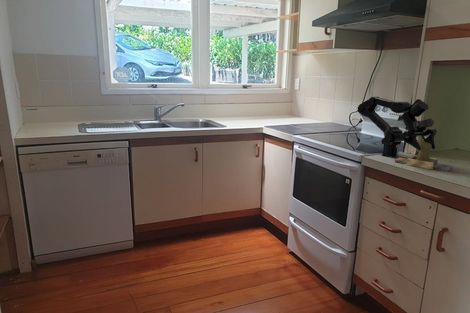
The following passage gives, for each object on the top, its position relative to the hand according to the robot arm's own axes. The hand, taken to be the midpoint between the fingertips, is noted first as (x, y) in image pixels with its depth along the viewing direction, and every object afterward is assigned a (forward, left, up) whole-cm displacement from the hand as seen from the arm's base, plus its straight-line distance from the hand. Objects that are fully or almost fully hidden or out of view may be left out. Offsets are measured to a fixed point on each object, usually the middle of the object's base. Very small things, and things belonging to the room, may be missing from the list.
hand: (427, 149), depth 162 cm
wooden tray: (-1, +1, -8) cm, 8 cm away
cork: (-1, +1, -8) cm, 8 cm away
